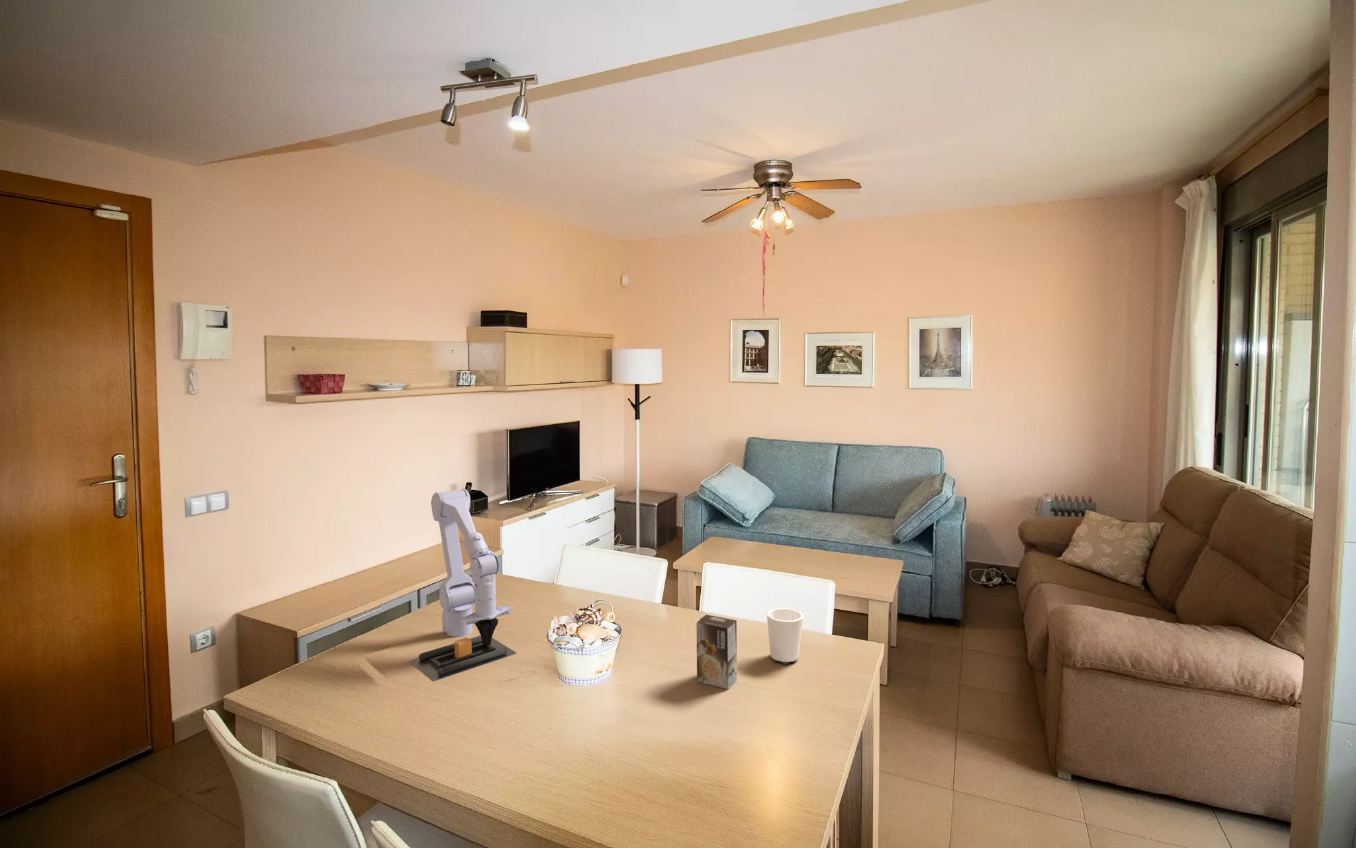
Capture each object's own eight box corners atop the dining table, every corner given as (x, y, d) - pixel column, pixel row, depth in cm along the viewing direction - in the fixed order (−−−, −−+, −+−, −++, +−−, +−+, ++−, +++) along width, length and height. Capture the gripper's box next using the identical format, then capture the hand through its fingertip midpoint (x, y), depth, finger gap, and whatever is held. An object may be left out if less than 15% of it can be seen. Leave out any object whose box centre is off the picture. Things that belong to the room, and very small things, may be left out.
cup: (801, 652, 192) (801, 608, 191) (803, 667, 182) (804, 622, 181) (765, 650, 193) (766, 607, 192) (766, 666, 183) (767, 620, 182)
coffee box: (737, 679, 176) (738, 620, 174) (728, 690, 170) (728, 628, 169) (706, 672, 180) (706, 613, 178) (695, 682, 174) (695, 622, 173)
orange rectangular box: (454, 657, 185) (454, 641, 185) (467, 653, 188) (466, 637, 187) (459, 660, 183) (458, 644, 183) (471, 656, 186) (471, 640, 185)
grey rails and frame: (417, 659, 184) (417, 653, 184) (484, 639, 197) (484, 633, 197) (439, 677, 174) (438, 670, 174) (508, 654, 187) (508, 648, 187)
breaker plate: (408, 666, 183) (408, 657, 183) (489, 641, 200) (489, 632, 200) (433, 687, 172) (432, 677, 172) (517, 658, 188) (517, 649, 188)
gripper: (467, 607, 181) (469, 656, 182) (515, 595, 191) (516, 641, 192) (455, 601, 186) (457, 648, 188) (503, 588, 196) (504, 634, 197)
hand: (486, 644), depth 190 cm, fingers closed
